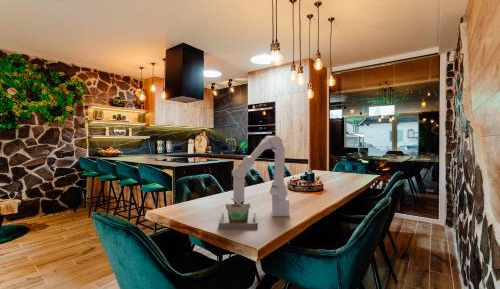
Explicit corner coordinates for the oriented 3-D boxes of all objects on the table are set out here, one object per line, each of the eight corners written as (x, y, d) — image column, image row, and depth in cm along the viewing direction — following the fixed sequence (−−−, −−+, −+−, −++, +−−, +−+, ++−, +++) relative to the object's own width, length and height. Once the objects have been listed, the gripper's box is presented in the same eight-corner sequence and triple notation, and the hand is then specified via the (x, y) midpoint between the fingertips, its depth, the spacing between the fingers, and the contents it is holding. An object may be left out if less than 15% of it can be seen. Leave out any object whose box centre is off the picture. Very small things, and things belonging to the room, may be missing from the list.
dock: (255, 217, 137) (255, 212, 137) (257, 228, 120) (257, 223, 120) (222, 217, 137) (222, 213, 136) (219, 229, 120) (219, 223, 119)
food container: (225, 227, 122) (224, 208, 121) (226, 221, 128) (225, 202, 127) (251, 226, 123) (250, 207, 121) (250, 220, 129) (250, 202, 127)
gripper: (231, 187, 140) (231, 212, 141) (230, 193, 126) (230, 220, 126) (244, 187, 140) (244, 211, 141) (244, 193, 126) (244, 220, 126)
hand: (238, 216), depth 133 cm, fingers open, 7 cm apart
